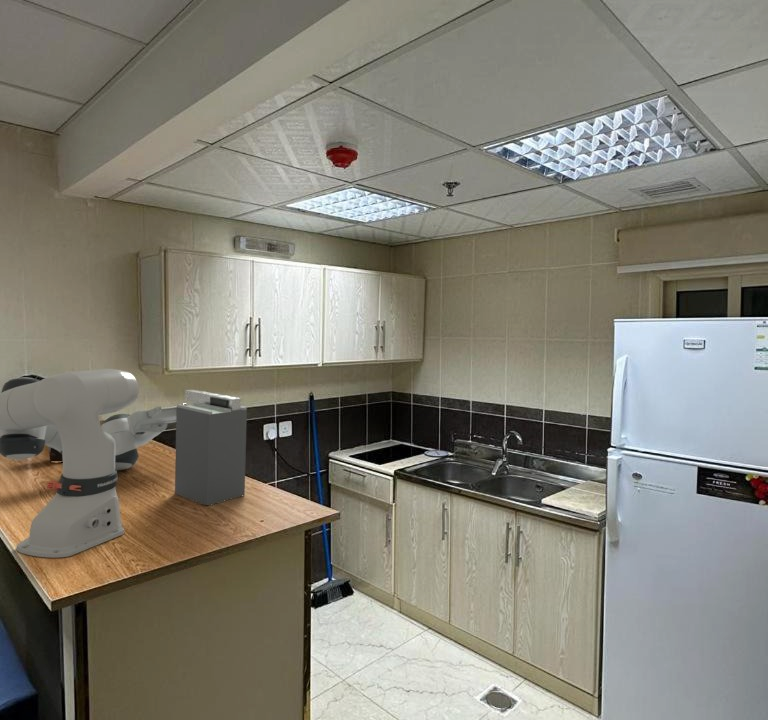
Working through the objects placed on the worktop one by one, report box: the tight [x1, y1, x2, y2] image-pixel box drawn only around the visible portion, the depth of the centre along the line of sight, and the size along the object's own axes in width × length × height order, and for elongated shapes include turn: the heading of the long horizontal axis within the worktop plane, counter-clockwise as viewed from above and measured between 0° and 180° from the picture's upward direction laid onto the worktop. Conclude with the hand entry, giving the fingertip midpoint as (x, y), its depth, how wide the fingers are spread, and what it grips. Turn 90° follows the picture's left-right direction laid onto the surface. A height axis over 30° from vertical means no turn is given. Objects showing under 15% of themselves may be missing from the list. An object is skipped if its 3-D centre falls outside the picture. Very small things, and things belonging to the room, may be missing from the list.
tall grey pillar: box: [174, 402, 248, 506], centre depth 155 cm, size 16×13×27 cm
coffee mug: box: [47, 446, 63, 461], centre depth 186 cm, size 12×9×10 cm
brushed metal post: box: [184, 389, 242, 411], centre depth 160 cm, size 24×4×4 cm, turn 53°
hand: (172, 406), depth 173 cm, fingers open, 8 cm apart
